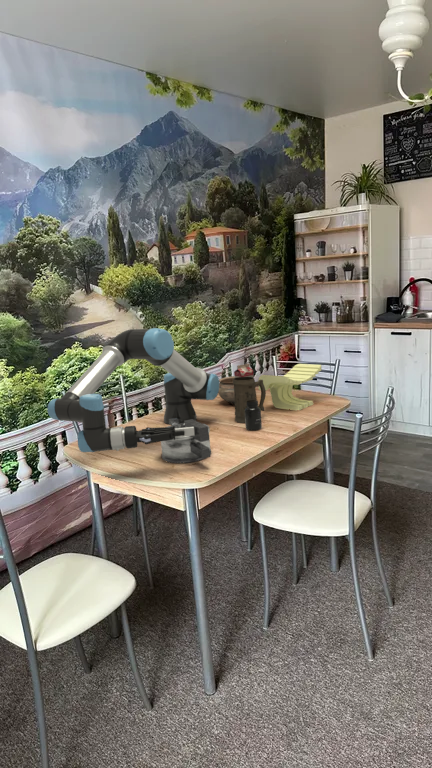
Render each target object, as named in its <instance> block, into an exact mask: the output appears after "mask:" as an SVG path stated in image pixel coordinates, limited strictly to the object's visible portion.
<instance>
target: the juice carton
mask: <svg viewBox="0 0 432 768" xmlns="http://www.w3.org/2000/svg"><path fill="white" fill-rule="evenodd" d="M233 376H234V377H235V378H237V377H253V378H254V379H255V377H254V376H255V375H254V370H253V368H251V367H250V363H244V364H238V365H236V369H235V370H234V372H233Z"/></svg>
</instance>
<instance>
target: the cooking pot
mask: <svg viewBox="0 0 432 768" xmlns="http://www.w3.org/2000/svg"><path fill="white" fill-rule="evenodd" d="M234 378H235V377H234V375H233V376H227V377H222V378H220V379H219V392H218V395H219V397H220V399H222V400H224V401H226V402H228V403H229V404H232V405H235V399H234V385H233V379H234Z"/></svg>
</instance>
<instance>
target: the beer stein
mask: <svg viewBox="0 0 432 768" xmlns="http://www.w3.org/2000/svg"><path fill="white" fill-rule="evenodd" d="M233 385H234V399H235V404H234V421H235V422H236V423H240V424H245V408H246V407H247V405H246V404H247V401H249V400H257V401H258V398H257V391H256V387H257V386H258V387H259V386H260V388H261V390H260V399H259V403H258V407H260V409H261V412H264V411H265V407H264V403H265V400H266V393H267V392H266V390H265V387H264V384H263V380H259V381H258V380H257V381H256V380H255V377H254V378H253V377H237V378H234V379H233Z"/></svg>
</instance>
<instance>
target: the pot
mask: <svg viewBox="0 0 432 768" xmlns="http://www.w3.org/2000/svg"><path fill="white" fill-rule="evenodd" d="M210 438H211V437H209V440H208V441H203V442H200V441H198V440H196V439H193V440H187V441H167V440H166V441H160V446H161V459H162V460H163V461H164V462H166V461H167V462H166V463H169V462H170V463H171V464H191V463H196V462H200V461H203V460H205V459H207V458H210V457H211V455H212V449H211V439H210Z"/></svg>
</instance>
